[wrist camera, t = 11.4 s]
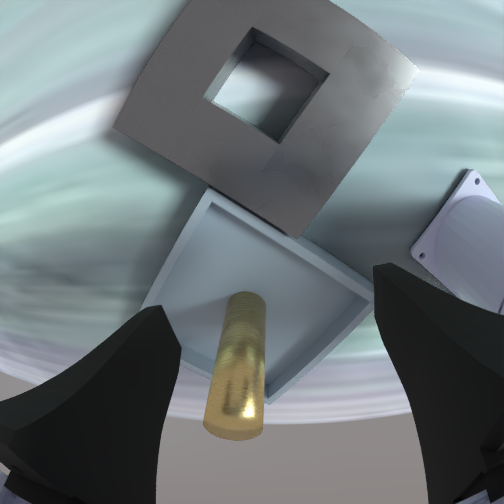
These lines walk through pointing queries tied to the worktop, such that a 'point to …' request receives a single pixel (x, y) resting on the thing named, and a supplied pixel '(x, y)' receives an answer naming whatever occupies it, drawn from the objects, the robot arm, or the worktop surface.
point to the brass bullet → (239, 371)
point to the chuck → (249, 136)
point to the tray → (257, 290)
